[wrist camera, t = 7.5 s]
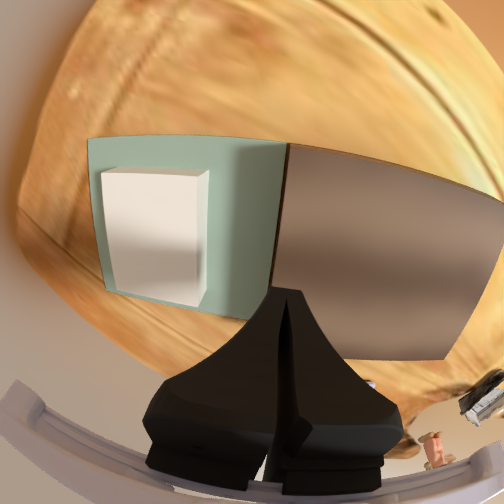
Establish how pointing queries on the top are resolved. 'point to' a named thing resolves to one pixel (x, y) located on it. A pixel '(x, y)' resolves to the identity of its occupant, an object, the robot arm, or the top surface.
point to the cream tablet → (157, 231)
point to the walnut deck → (384, 252)
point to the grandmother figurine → (433, 450)
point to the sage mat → (218, 213)
